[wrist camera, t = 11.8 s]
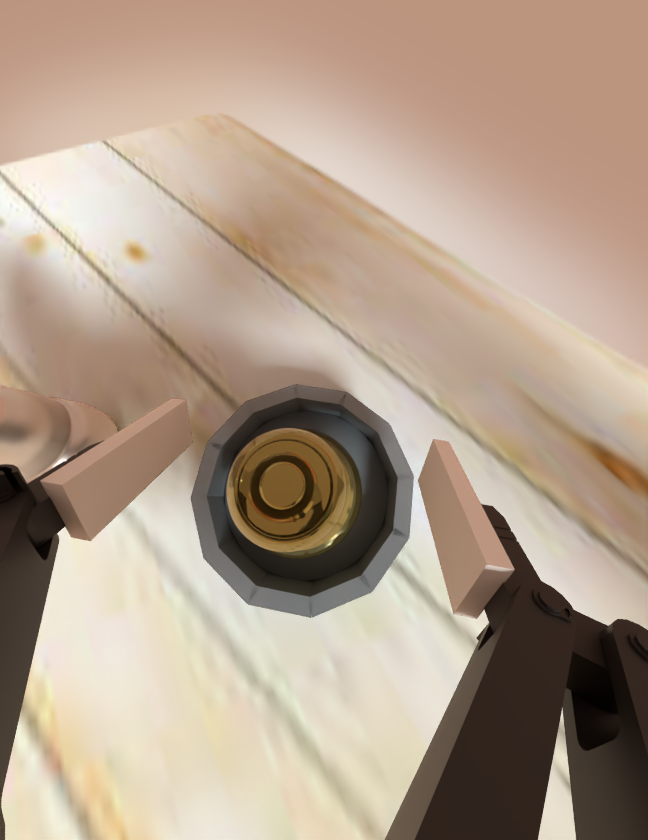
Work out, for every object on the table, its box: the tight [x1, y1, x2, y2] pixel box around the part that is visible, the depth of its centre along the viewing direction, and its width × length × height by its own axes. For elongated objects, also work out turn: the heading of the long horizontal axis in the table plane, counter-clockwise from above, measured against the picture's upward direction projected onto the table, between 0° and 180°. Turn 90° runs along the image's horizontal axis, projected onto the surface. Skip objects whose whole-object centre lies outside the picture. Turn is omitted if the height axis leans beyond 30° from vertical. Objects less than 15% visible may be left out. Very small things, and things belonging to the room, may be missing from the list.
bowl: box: [191, 384, 414, 618], centre depth 19 cm, size 14×14×4 cm
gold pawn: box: [226, 428, 362, 559], centre depth 15 cm, size 7×7×10 cm
